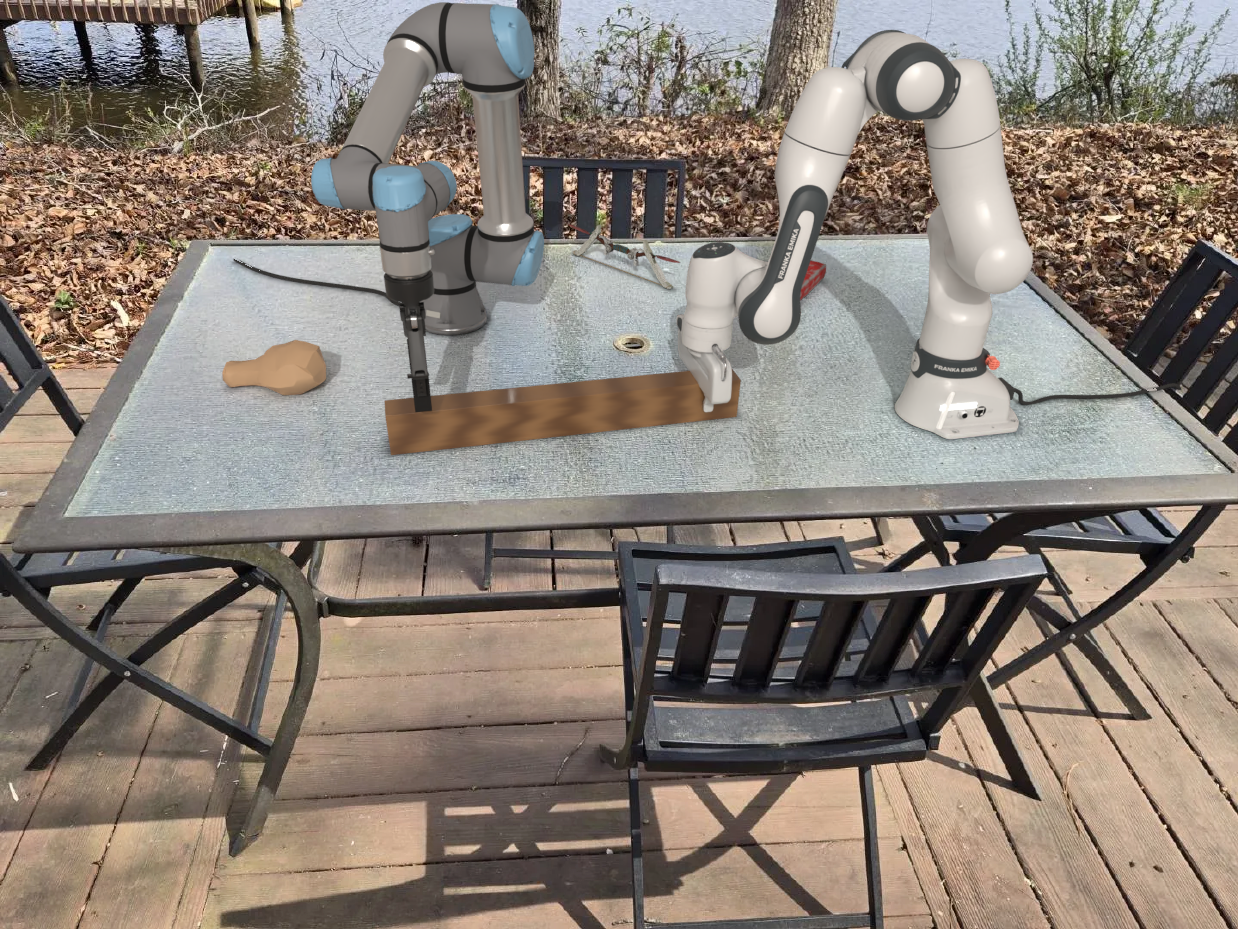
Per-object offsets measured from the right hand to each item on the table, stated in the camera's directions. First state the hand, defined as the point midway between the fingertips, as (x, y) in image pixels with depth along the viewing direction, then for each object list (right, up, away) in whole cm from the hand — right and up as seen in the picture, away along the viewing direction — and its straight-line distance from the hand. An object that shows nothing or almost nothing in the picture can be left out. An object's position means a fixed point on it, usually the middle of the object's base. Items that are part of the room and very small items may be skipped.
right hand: (701, 401), depth 164 cm
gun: (+22, +31, +52) cm, 64 cm away
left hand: (-49, +1, -16) cm, 52 cm away
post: (-25, -5, -4) cm, 26 cm away
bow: (-15, +38, +60) cm, 73 cm away
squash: (-82, +3, +6) cm, 82 cm away
